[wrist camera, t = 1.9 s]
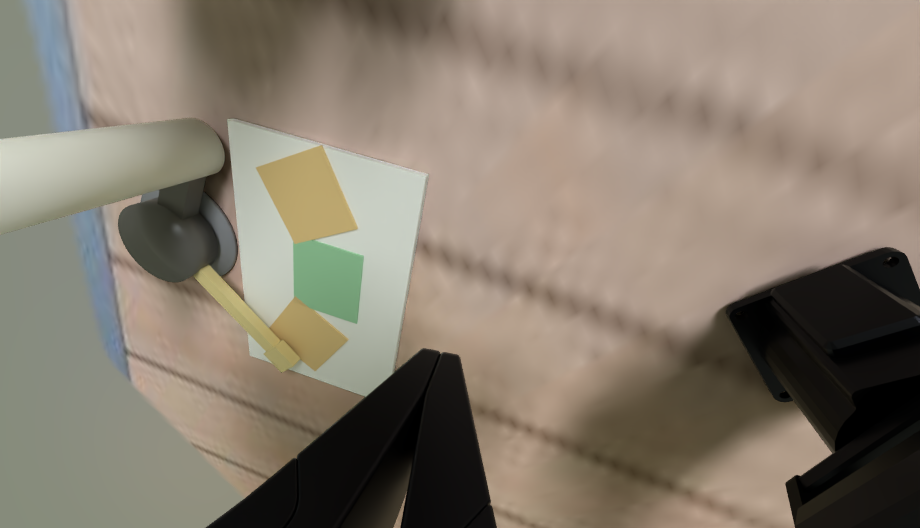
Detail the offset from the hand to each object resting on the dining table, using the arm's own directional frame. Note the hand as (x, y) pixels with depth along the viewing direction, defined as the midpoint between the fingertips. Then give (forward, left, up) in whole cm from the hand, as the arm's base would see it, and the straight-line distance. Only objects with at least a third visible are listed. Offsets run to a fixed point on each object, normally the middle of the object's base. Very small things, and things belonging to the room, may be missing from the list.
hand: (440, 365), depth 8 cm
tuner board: (+5, +15, -12) cm, 19 cm away
